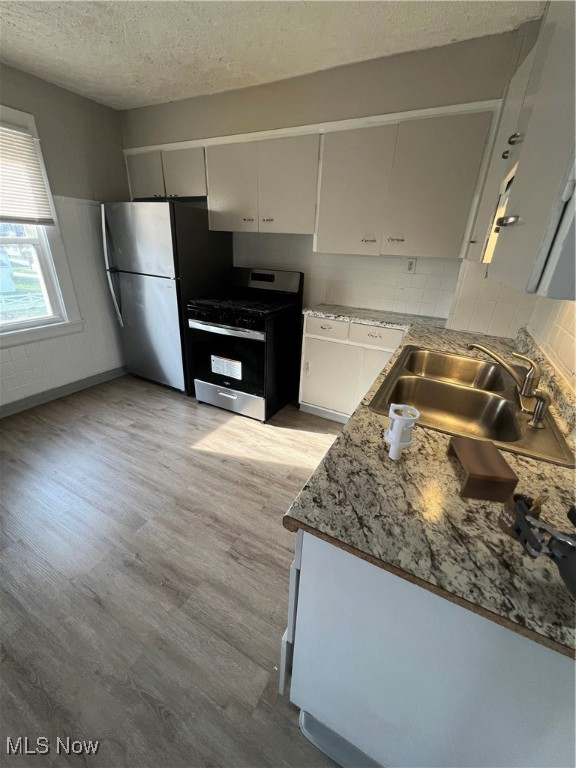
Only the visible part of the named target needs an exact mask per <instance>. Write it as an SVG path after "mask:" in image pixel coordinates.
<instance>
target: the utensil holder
mask: <svg viewBox="0 0 576 768" xmlns="http://www.w3.org/2000/svg"><path fill="white" fill-rule="evenodd" d="M525 481H526V483H525V485H524V486H527V483H528V486H527V487H530V488H527V489H526V488H525V487H524V486H523V485H522V487H518V490H520V489H521V488H523V487H524V488H523V490H522V492H521V493H520V492H514V493H513V494H512V495H511V496H510V497H509V500H508V501H506V502H505V503H503V505H502V508H501V509H500V512H499V514H498V517H497V523H498V526H499V528H500V529H501V530H502V531H503V532H505V533H506V534H508V536H511V537H513V538H515V539H517V537H516V536H515V534H514V533H513V531H512V529H511V527H512V525H513V524H514V522H515V519H516V517H517V516H516V514H515V513H514V511H513V508H514V506H515V503H516V502H517V501H518V500H520V501H523V502H524V503H525V505H526V506H527V508H528V509H529V511H530V512H531V514H532V515H533V518H534V519H536V520H537V521H539V522H540V516H541V514H542V506H543V505H544V503H545V502H546V501H547V500H549V498H550V497H551V496H550V495H547V494H544V495H543V494H539V495H538V496H537V497H536V498H535V499H534V498H533V497H532V495H530V493H531V492H530V491H534V490H535V488H532V487H535V482H532V481H531V479H530V478H527V477H526V478H522V479H521V481H520V483H518V486H521V484H523V483H524V482H525ZM528 481H529V482H528ZM532 483H533V486H530V484H532ZM531 488H532V489H531ZM525 489H526V491H528V489H529V491H528V494H527V493H525V494H524V492H525ZM531 528H532V529H534V530H535V531H536V529H537V528H536V527H534V526H533V525H532V527H531Z"/></svg>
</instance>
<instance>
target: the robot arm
mask: <svg viewBox="0 0 576 768" xmlns="http://www.w3.org/2000/svg"><path fill="white" fill-rule="evenodd" d="M513 511H514V513H515V514H516V516H517V517H516V519H515V522H514V524H513V525H512V527H511V529H512V531H513V533H514V534H515V536H516V537H517V538H516V539H517V541H518V542H519V544H520V545H521V547H522V549H523V550H524V552H525V553H526V555H527V556H528V557H529V559H532V560H537V558H538V557H545V558H548V559H550V561H552V562H553V563H554V564H555V566H556V567H557V570H558V573H559V576H560V579H561V581H562V583H564V585H565V587H566V588H567V590H568V592H569V594H571V596H572V598H573V599H574V601H575V602H576V533H573V532H572V533H568V532H565V531H559V530H556V529H555V528H553V527H552V526H550V525H549V524H547V523H544V524H543V523H542V522H540V520H539V521H537V520H536V519H534V518H533V515H532V514H531V512H530V511H529V509H528V508H527V506H526V505H525V503H524V502H523V501H520V500H518V501H517V502H516V503H515V506H514V508H513ZM566 518H567V519H568V520H569V522H570V523H571V524H572V526H573V527H574V528H575V529H576V508H575V507H570V508H569V509H568V511H567V512H566ZM532 525H533V526H534V527H536V529H537V530H538V531H537V530H536V529H535V530H534V529H532V528H531V527H532ZM546 535H549V536H550V537H549V539H548V541H547V539H545V538H546Z"/></svg>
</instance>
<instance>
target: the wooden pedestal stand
mask: <svg viewBox="0 0 576 768" xmlns="http://www.w3.org/2000/svg"><path fill="white" fill-rule="evenodd" d="M445 455H446V456H447V457H454V458H458V459H459V462H460V464H461V466H462V467H463V468H462V469H463V470H464V471H465V477H464V479H463V482H462V485H461V487H460V491H459V495H460V497H461V498H467V499H474V500H480V501H487V502H493V503H500V504H505V502H506V501H508V500H509V497H510V496H511V495H512V494H514V493H515V491H516V488H517V486H518V485H519V482H520V478H519V477H518V475H517V473H516V472H515V471H514V470H513V468H512V466H511V465H510V464H509V463H508V462H507V460H506V458H505V457H504V455H502V453H501V451H500V450H499V449H498V447H497V446H496V444H495V443H494V442H493V441H491V440H483V439H474V438H468V437H467V438H466V437H458V436H450V438H449V441H448V444H447V448H446V451H445Z"/></svg>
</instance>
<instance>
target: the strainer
mask: <svg viewBox="0 0 576 768" xmlns="http://www.w3.org/2000/svg"><path fill="white" fill-rule="evenodd" d="M395 410H396V411H397V410H401V411H402V415H398V414H396V413H395ZM409 412H410V413H412V414H414V415H415V416H413V415H412V414H409ZM420 416H421V413H420V412H419V410H417V408H415V407H412V406H411V405H407V404H396V403H393V402H391V404H390V406H389V412H388V418H389V419H390V424H389V427H388V429H386V430H385V432H384V440H385V441H386V442H387V443H388V444H390V447H389V452H388V457H389V458H390V459H391V460H393V461H399V460H401V459H402V458H401V457H402V454H403V451H404V450H403V449H404V448H410V447H411V446H413V444H414V441H415V437H414V435H413V430H414V426H415V423H417V422H418V421H419V420H420Z"/></svg>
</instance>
